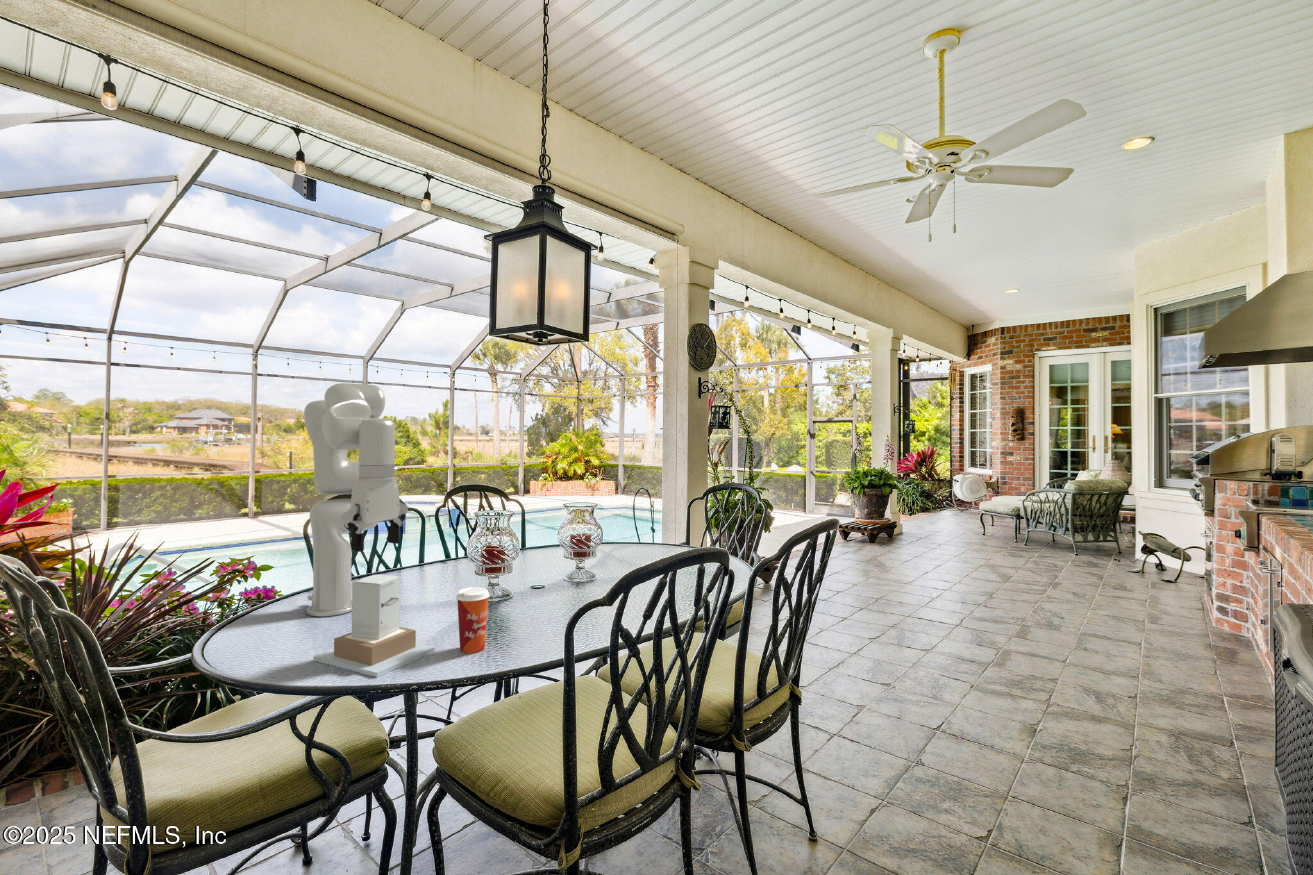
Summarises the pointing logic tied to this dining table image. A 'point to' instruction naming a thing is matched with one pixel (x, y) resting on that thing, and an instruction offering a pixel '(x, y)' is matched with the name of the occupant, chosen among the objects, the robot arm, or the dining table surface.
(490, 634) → the dining table surface
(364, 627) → the supplement box
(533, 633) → the dining table surface
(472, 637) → the paper cup
